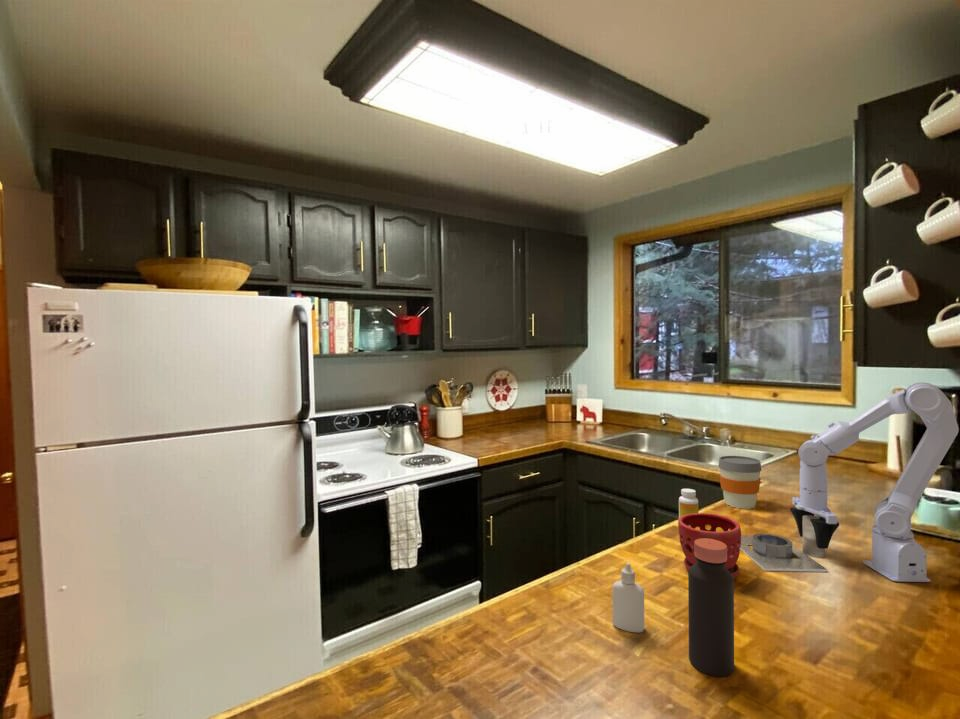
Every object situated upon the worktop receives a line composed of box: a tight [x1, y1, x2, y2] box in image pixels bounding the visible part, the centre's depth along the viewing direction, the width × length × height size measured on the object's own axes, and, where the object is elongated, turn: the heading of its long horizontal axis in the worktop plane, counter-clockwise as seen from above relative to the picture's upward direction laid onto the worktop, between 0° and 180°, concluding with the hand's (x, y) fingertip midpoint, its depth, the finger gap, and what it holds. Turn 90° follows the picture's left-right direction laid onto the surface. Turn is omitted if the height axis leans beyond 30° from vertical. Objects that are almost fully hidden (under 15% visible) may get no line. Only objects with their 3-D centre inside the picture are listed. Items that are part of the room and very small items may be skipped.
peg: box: [802, 515, 826, 559], centre depth 119 cm, size 4×4×9 cm
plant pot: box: [677, 512, 742, 579], centre depth 110 cm, size 13×13×12 cm
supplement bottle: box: [678, 488, 699, 519], centre depth 141 cm, size 5×5×10 cm
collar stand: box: [740, 533, 828, 573], centre depth 120 cm, size 20×14×3 cm
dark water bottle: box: [687, 538, 735, 677], centre depth 78 cm, size 7×7×20 cm
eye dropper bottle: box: [611, 562, 645, 634], centre depth 89 cm, size 4×6×12 cm
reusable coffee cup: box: [718, 455, 762, 510], centre depth 157 cm, size 13×13×15 cm
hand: (813, 542), depth 119 cm, fingers open, 6 cm apart
